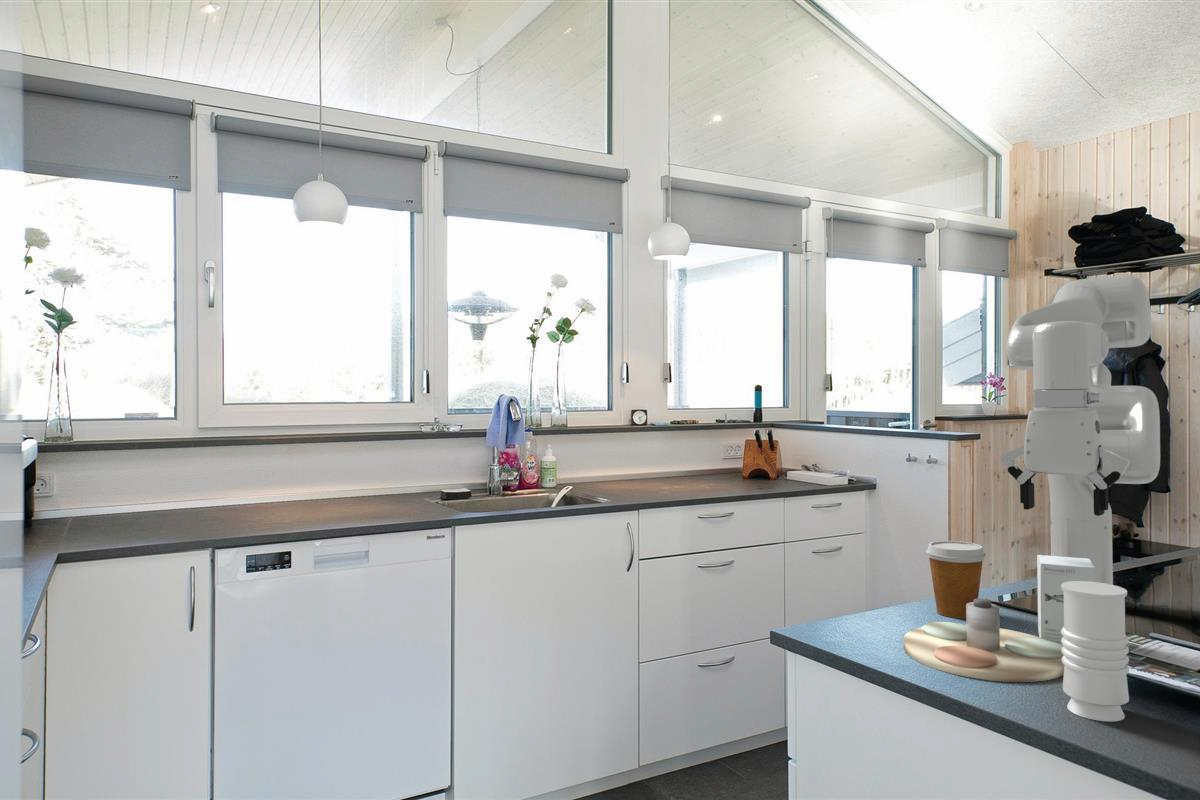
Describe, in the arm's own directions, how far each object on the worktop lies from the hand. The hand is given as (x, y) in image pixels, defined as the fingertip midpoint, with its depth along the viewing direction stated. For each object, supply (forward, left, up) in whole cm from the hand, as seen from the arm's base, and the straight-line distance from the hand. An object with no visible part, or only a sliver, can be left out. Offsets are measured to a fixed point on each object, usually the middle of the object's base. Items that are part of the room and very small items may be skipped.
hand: (1063, 511), depth 119 cm
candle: (+27, +10, -20) cm, 35 cm away
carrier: (+15, -7, -20) cm, 26 cm away
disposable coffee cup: (-4, -18, -20) cm, 27 cm away
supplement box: (0, 0, -20) cm, 20 cm away
